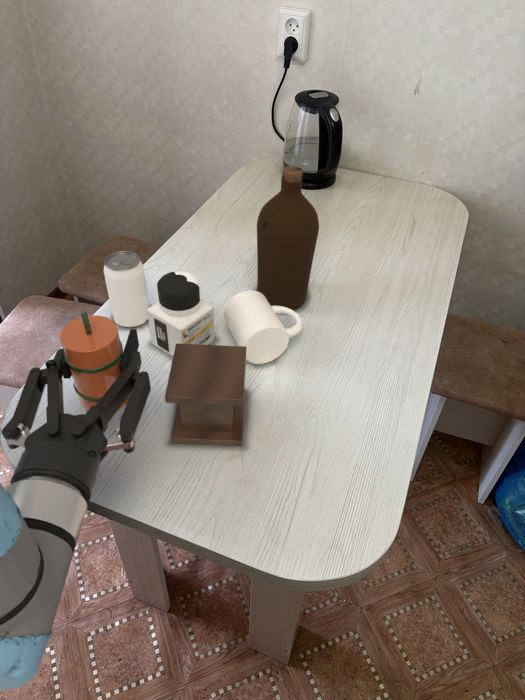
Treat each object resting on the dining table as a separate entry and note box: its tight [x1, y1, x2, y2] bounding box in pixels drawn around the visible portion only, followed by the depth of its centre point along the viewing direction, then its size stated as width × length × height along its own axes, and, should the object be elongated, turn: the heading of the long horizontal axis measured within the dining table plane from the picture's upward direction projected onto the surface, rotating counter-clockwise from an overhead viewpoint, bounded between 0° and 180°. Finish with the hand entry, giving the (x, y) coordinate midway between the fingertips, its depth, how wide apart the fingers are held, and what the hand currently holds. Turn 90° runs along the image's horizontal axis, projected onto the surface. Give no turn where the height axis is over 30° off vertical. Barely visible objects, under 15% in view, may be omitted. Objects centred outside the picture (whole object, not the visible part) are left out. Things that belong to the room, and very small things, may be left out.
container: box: [147, 270, 216, 357], centre depth 82 cm, size 8×8×13 cm
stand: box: [164, 344, 247, 447], centre depth 71 cm, size 10×10×10 cm
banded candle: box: [59, 310, 130, 412], centre depth 61 cm, size 7×7×14 cm
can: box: [103, 250, 150, 329], centre depth 86 cm, size 6×6×12 cm
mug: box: [223, 289, 304, 365], centre depth 84 cm, size 12×10×8 cm
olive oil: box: [256, 165, 320, 311], centre depth 88 cm, size 11×11×25 cm
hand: (107, 336), depth 65 cm, fingers closed on banded candle, 6 cm apart
